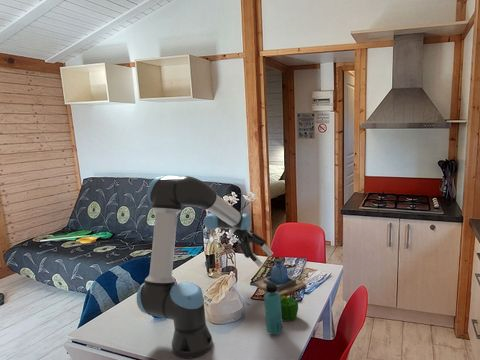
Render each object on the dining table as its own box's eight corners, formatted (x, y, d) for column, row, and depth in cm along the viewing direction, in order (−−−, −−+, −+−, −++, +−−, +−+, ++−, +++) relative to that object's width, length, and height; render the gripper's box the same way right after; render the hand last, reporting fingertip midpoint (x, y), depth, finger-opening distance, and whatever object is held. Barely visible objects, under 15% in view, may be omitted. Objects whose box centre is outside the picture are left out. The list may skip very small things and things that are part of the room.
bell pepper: (298, 312, 156) (297, 290, 154) (299, 323, 148) (298, 300, 146) (278, 312, 157) (276, 291, 155) (278, 323, 148) (276, 300, 147)
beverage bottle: (278, 340, 138) (275, 290, 134) (263, 335, 141) (259, 287, 138) (286, 330, 143) (283, 283, 140) (271, 326, 147) (267, 280, 143)
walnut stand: (305, 286, 178) (305, 280, 177) (276, 298, 169) (276, 291, 168) (282, 274, 193) (282, 268, 192) (254, 285, 184) (253, 278, 183)
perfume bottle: (287, 281, 182) (286, 258, 180) (282, 286, 176) (281, 263, 174) (276, 279, 185) (275, 256, 183) (271, 284, 180) (269, 261, 178)
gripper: (243, 226, 199) (271, 255, 194) (221, 241, 177) (251, 274, 172) (252, 217, 195) (280, 246, 191) (230, 231, 173) (261, 265, 169)
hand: (266, 260), depth 182 cm, fingers open, 13 cm apart
